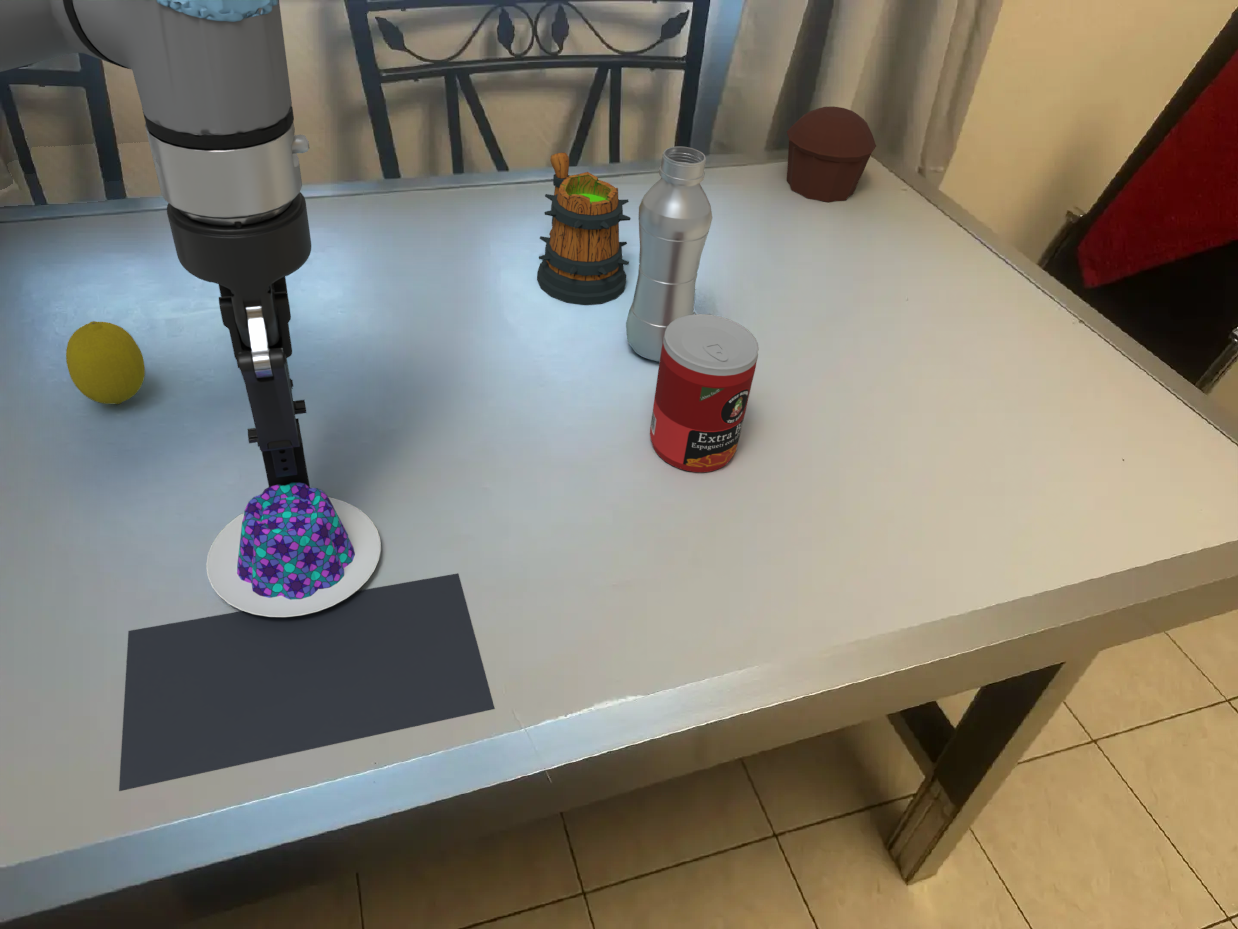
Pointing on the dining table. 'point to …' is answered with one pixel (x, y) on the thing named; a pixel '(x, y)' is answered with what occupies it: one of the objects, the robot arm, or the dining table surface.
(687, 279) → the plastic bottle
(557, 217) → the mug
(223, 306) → the robot arm
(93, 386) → the lemon
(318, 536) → the pudding
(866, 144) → the muffin
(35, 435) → the dining table surface
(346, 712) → the dark gray placemat
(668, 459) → the canned food
